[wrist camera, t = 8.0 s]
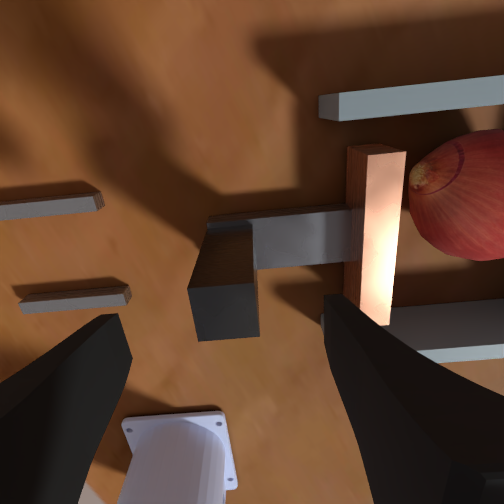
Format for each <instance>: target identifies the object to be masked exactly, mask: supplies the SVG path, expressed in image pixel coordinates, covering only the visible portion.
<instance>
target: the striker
mask: <svg viewBox="0 0 504 504" xmlns="http://www.w3.org/2000/svg"><path fill="white" fill-rule="evenodd" d="M405 159H406V151H403V150H399V149H396V148H393V147H389V146H386V145H383V144H379V143H376V144H366V145H356V146H347V170H346V203H341V204H331V205H320V206H310V207H299V208H289V209H279V210H268V211H258V212H247V213H237V214H227V215H216V216H209V218H208V221H207V228H208V229H207V232H206V235H205V238H204V241H203V244H202V246H201V249H200V252H199V255H198V258H197V261H196V264H195V267H194V270H193V273H192V276H191V279H190V282H189V285H188V288H187V290H188V295H189V300H190V305H191V309H192V314H193V319H194V323H195V328H196V333H197V338H198V342H199V341H212V340H224V339H236V338H248V337H260V328H259V305H258V281H257V270H258V269H269V268H280V267H291V266H302V265H313V264H324V263H336V262H344V293H343V295H344V296H345V297H346V298H347V299H349V300H350V301H351V302H352V303H353V304H354V305H356V306H357V307H358V308H359V309H360V310H361V311H363V312H364V313H365V314H366V315H367V316H369V317H370V318H371V319H372V320H374V321H375V322H376V323H377V324H379V325H380V326H381V325H389V321H390V311H391V301H392V291H393V281H394V271H395V261H396V250H397V240H398V230H399V220H400V210H401V200H402V190H403V180H404V169H405Z"/></svg>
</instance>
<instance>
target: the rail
mask: <svg viewBox="0 0 504 504" xmlns="http://www.w3.org/2000/svg"><path fill="white" fill-rule="evenodd" d="M104 206H105V204H104V201H103V197H102V194H101V192H92V193H82V194H72V195H62V196H52V197H42V198H32V199H22V200H12V201H2V202H0V221H1V220H11V219H21V218H31V217H41V216H52V215H62V214H72V213H82V212H92V211H98V210H99V209H101V208H102V207H104ZM131 297H132V294H131V291H130V288H129V285H128V286H117V287H106V288H95V289H84V290H72V291H61V292H50V293H39V294H28V295H27V296H26V297H25V298H24V299H22V300H21V301H20V302H19V303H18V304H19V306H20V308H21V310H22V313H23V314H31V313H42V312H53V311H65V310H76V309H88V308H99V307H111V306H122V305H127V304H128V302H129V300H130V299H131Z"/></svg>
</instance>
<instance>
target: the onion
mask: <svg viewBox="0 0 504 504" xmlns="http://www.w3.org/2000/svg"><path fill="white" fill-rule="evenodd" d="M408 195H409V203H410V214H411V216H412V219H413V221H414V223H415V226H416V227H417V229H418V231H419V233H420V235H421V236H422V237H423V238H424V239H425V240H427V241H428V242H429V243H430V244H431V245H433V246H434V247H435V248H437V249H438V250H440V251H442V252H444V253H445V254H447V255H452V256H456V257H461V258H465V259H471V260H476V261H485V260H493V259H500V258H504V130H501V129H491V130H480V131H476V132H472V133H468V134H464V135H460V136H458V137H456V138H454V139H452V140H449V141H447V142H445V143H444V144H442V145H441V146H439V147H438V148H436V149H435V150H433V151H432V152H430V153H429V154H428V155H426V156H425V157H424V158H423V159H422V160H420V161H419V162H418V163H417V164H416V165H415V166H414V167H413V168H412V170H411V172H410V173H409V185H408Z"/></svg>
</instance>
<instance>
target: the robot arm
mask: <svg viewBox="0 0 504 504" xmlns="http://www.w3.org/2000/svg"><path fill="white" fill-rule="evenodd" d="M324 344H325V348H326V353H327V357H328V361H329V365H330V369H331V372H332V374H333V377H334V380H335V383H336V385H337V388H338V391H339V393H340V396H341V399H342V401H343V404H344V407H345V409H346V412H347V415H348V417H349V420H350V423H351V425H352V428H353V431H354V434H355V437H356V440H357V443H358V446H359V449H360V453H361V456H362V460H363V464H364V467H365V471H366V475H367V478H368V482H369V486H370V490H371V494H372V498H373V501H374V504H504V396H503V395H500V394H498V393H496V392H494V391H491V390H489V389H487V388H485V387H483V386H480V385H478V384H476V383H474V382H472V381H470V380H468V379H466V378H464V377H462V376H460V375H458V374H456V373H454V372H452V371H450V370H448V369H447V368H445V367H443V366H441V365H439V364H437V363H436V362H434V361H432V360H431V359H429V358H427V357H426V356H424V355H422V354H421V353H419V352H417V351H416V350H414V349H412V348H411V347H409V346H408V345H406V344H405V343H403V342H402V341H401V340H399V339H398V338H396V337H395V336H393V335H392V334H391V333H389V332H388V331H387V330H385V329H384V328H383V327H381V326H380V325H379V324H377V323H376V322H375V321H374V320H372V319H371V318H370V317H369V316H367V315H366V314H365V313H364V312H363V311H361V310H360V309H359V308H358V307H357V306H356V305H354V304H353V303H352V302H351V301H350V300H349V299H347V298H346V297H345V296H344V295H343V294H333V295H324ZM132 359H133V358H132V355H131V352H130V349H129V346H128V343H127V340H126V337H125V334H124V330H123V327H122V324H121V321H120V318H119V315H118V313H115V314H104V315H100V316H98V317H96V318H95V319H93V320H92V321H90V322H89V323H87V324H86V325H84V326H83V327H81V328H80V329H79V330H77V331H76V332H74V333H73V334H72V335H70V336H69V337H68V338H66V339H65V340H63V341H62V342H61V343H59V344H58V345H56V346H55V347H54V348H52V349H51V350H49V351H48V352H47V353H45V354H44V355H42V356H41V357H39V358H38V359H36V360H35V361H33V362H32V363H30V364H29V365H27V366H26V367H25V368H23V369H22V370H20V371H19V372H17V373H16V374H14V375H13V376H11V377H9V378H8V379H6V380H5V381H3V382H1V383H0V504H78V501H79V498H80V495H81V492H82V489H83V486H84V483H85V480H86V477H87V474H88V471H89V468H90V465H91V463H92V460H93V458H94V455H95V453H96V450H97V448H98V446H99V443H100V441H101V439H102V437H103V434H104V432H105V430H106V428H107V425H108V423H109V421H110V419H111V416H112V414H113V412H114V410H115V407H116V405H117V403H118V400H119V398H120V396H121V394H122V391H123V389H124V386H125V383H126V380H127V377H128V374H129V370H130V366H131V363H132ZM121 426H122V428H123V431H124V434H125V436H126V439H127V441H128V444H129V446H130V449H131V451H132V454H133V457H132V460H131V463H130V466H129V469H128V472H127V475H126V478H125V481H124V484H123V487H122V490H121V493H120V496H119V499H118V502H117V504H225V499H226V490H233V489H236V488H237V486H238V481H237V476H236V471H235V465H234V460H233V455H232V450H231V445H230V439H229V434H228V429H227V424H226V419H225V414H224V413H223V412H221V411H208V412H195V413H181V414H168V415H154V416H141V417H128V418H125V419H123V421H122V424H121Z"/></svg>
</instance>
